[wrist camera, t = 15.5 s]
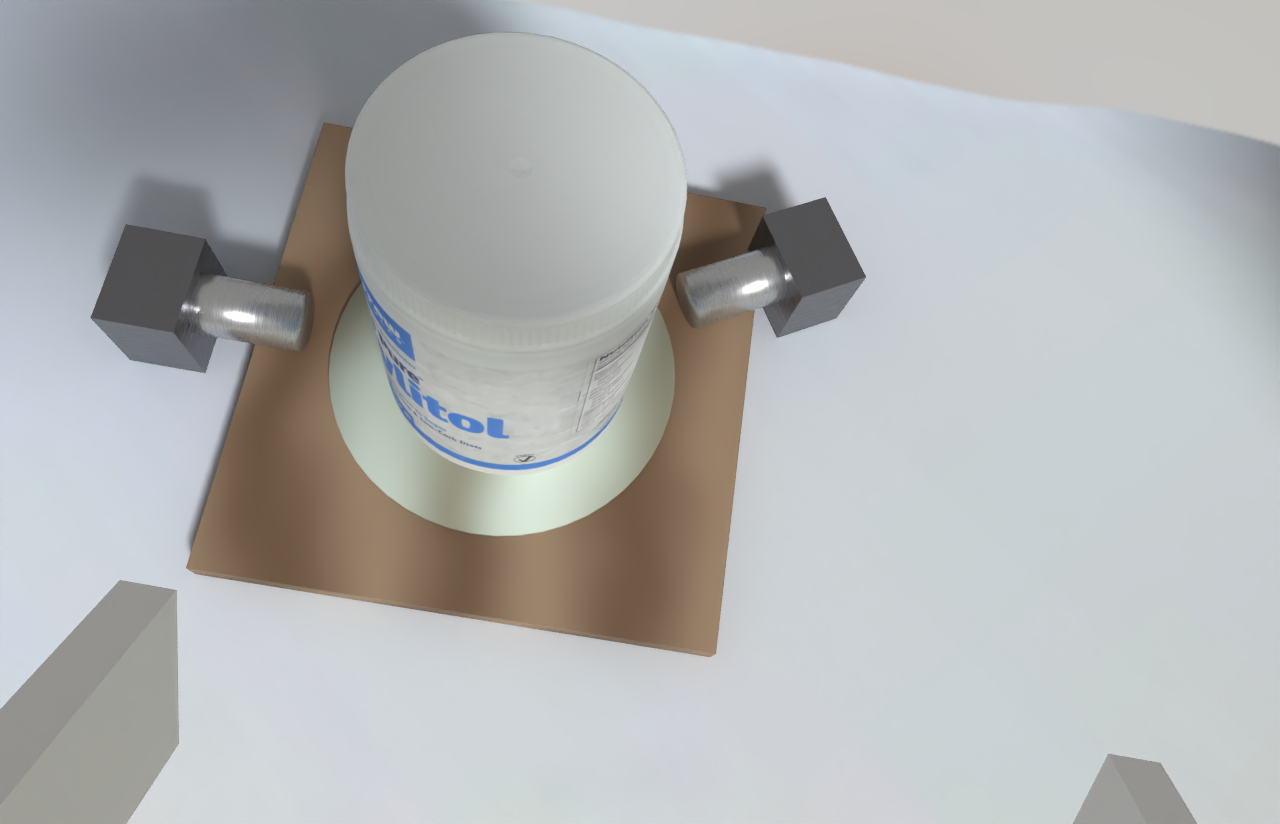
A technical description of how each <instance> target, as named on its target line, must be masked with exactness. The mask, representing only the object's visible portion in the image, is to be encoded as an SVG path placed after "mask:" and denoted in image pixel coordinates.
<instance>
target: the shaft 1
mask: <svg viewBox="0 0 1280 824" xmlns="http://www.w3.org/2000/svg"><path fill="white" fill-rule="evenodd" d="M314 311H315V305H314V298H313V295H312V293H311V292H307V291H302V290H296V289H291V288H285V287H280V286H274V285H269V284H263V283H258V282H252V281H247V280H241V279H236V278H230V277H227V275H226V273H225V272H224V270H223V268H222V266H221V265H220V263H219V261H218V260H217V258H216V256H215V254H214V253H213V251H212V249H211V248H210V246H209V244H208V243H207V241H206V239H202V238H197V237H191V236H186V235H180V234H175V233H170V232H164V231H159V230H153V229H148V228H142V227H137V226H131V225H126V226H125V229H124V231H123V234H122V236H121V239H120V242H119V244H118V247H117V250H116V252H115V255H114V258H113V260H112V263H111V265H110V268H109V271H108V273H107V276H106V279H105V281H104V284H103V287H102V289H101V292H100V294H99V297H98V300H97V302H96V305H95V308H94V310H93V313H92V316H91V319H92V320H93V321H94V322H95V323H96V324H97V325H98V326H99V327H100V328H101V329H102V330H103V332H104V333H105V334H106V335H107V336H108V337H109V338H110V339H111V340H112V341H113V342H114V343H115V344H116V345H117V346H118V347H119V348H120V349H121V351H122V352H123V353H124V354H125V355H126V356H127V357H128V358H129V359H130V360H134V361H140V362H145V363H151V364H157V365H163V366H168V367H174V368H180V369H185V370H191V371H197V372H203V373H205V372H206V369H207V366H208V363H209V360H210V356H211V353H212V350H213V347H214V344H215V341H216V338H217V337H218V338H224V339H230V340H235V341H241V342H246V343H252V344H258V345H263V346H269V347H275V348H280V349H286V350H292V351H297V352H302V351H303V350H304V349H305V347H306V345H307V343H308V341H309V338H310V335H311V332H312V327H313V321H314Z"/></svg>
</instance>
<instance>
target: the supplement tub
mask: <svg viewBox="0 0 1280 824" xmlns="http://www.w3.org/2000/svg"><path fill="white" fill-rule="evenodd" d="M345 186H346V193H347V219H348V227H349V233H350V238H351V242H352V246H353V251H354V255H355V259H356V263H357V267H358V270H359V274H360V278H361V281H362V285H363V289H364V292H365V296H366V300H367V303H368V307H369V311H370V314H371V318H372V322H373V326H374V330H375V333H376V337H377V340H378V344H379V347H380V351H381V354H382V358H383V362H384V366H385V370H386V373H387V377H388V381H389V384H390V387H391V390H392V393H393V396H394V399H395V401H396V404H397V406H398V408H399V410H400V412H401V414H402V416H403V418H404V420H405V421H406V422H407V424H408V425H409V426H410V428H411V429H412V430H413V432H414V433H415V434H416V435H417V436H418V437H419V438H420V439H421V440H422V441H423V442H424V443H425V444H426V445H427V446H428V447H430V448H431V449H432V450H433V451H435V452H436V453H438V454H439V455H441V456H442V457H444V458H446V459H448V460H449V461H451V462H454V463H456V464H458V465H461V466H463V467H466V468H469V469H472V470H476V471H480V472H484V473H490V474H498V475H527V474H534V473H539V472H543V471H546V470H550V469H553V468H555V467H558V466H560V465H562V464H564V463H567V462H569V461H571V460H572V459H574V458H576V457H577V456H579V455H580V454H582V453H583V452H584V451H586V450H587V449H588V448H589V447H591V446H592V445H593V444H594V443H595V442H596V441H597V440H598V439H599V438H600V437H601V436H602V435H603V434H604V433H605V431H606V430H607V429H608V427H609V426H610V424H611V422H612V421H613V419H614V417H615V416H616V414H617V412H618V410H619V407H620V405H621V403H622V400H623V398H624V395H625V392H626V390H627V387H628V385H629V382H630V379H631V376H632V374H633V371H634V369H635V366H636V363H637V360H638V358H639V355H640V352H641V350H642V347H643V344H644V341H645V339H646V336H647V334H648V331H649V328H650V326H651V323H652V320H653V318H654V315H655V312H656V309H657V307H658V304H659V301H660V299H661V296H662V293H663V291H664V288H665V285H666V283H667V280H668V277H669V274H670V271H671V268H672V265H673V262H674V260H675V257H676V254H677V251H678V248H679V245H680V240H681V236H682V231H683V221H684V213H685V207H686V200H687V172H686V166H685V161H684V155H683V152H682V149H681V146H680V143H679V140H678V138H677V135H676V133H675V130H674V128H673V126H672V124H671V123H670V121H669V119H668V117H667V116H666V114H665V112H664V111H663V110H662V108H661V107H660V105H659V104H658V103H657V101H656V100H655V99H654V98H653V97H652V95H651V94H650V93H649V92H648V91H647V90H646V89H645V88H644V87H643V86H642V85H641V84H640V83H639V82H638V81H637V80H636V79H635V78H634V77H632V76H631V75H630V74H629V73H627V72H626V71H625V70H624V69H622V68H621V67H619V66H618V65H616V64H615V63H613V62H612V61H610V60H608V59H607V58H605V57H603V56H602V55H600V54H598V53H595V52H593V51H591V50H589V49H587V48H584V47H582V46H579V45H577V44H574V43H572V42H568V41H565V40H561V39H558V38H554V37H550V36H544V35H539V34H531V33H521V32H492V33H484V34H476V35H470V36H466V37H462V38H458V39H454V40H451V41H448V42H445V43H442V44H439V45H437V46H434V47H432V48H430V49H428V50H426V51H423V52H421V53H420V54H418V55H416V56H415V57H413V58H412V59H410V60H408V61H407V62H405V63H404V64H403V65H401V66H400V67H399V68H397V69H396V70H395V71H393V72H392V73H391V74H390V75H389V76H388V77H387V78H386V79H385V80H384V81H383V82H382V83H381V84H380V85H379V86H378V87H377V88H376V90H375V91H374V92H373V93H372V95H371V96H370V97H369V99H368V100H367V102H366V103H365V105H364V106H363V108H362V110H361V112H360V113H359V115H358V117H357V119H356V122H355V124H354V127H353V130H352V133H351V136H350V140H349V143H348V149H347V155H346V163H345Z"/></svg>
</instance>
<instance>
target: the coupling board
mask: <svg viewBox="0 0 1280 824" xmlns="http://www.w3.org/2000/svg"><path fill="white" fill-rule="evenodd" d="M352 130H353V128H349V127H344V126H339V125H334V124H328V123H324V124H323V127H322V130H321V134H320V137H319V140H318V143H317V146H316V150H315V153H314V156H313V159H312V163H311V166H310V169H309V172H308V176H307V179H306V182H305V185H304V189H303V192H302V195H301V198H300V201H299V205H298V208H297V211H296V214H295V218H294V221H293V224H292V227H291V231H290V234H289V237H288V240H287V243H286V247H285V250H284V253H283V256H282V260H281V263H280V266H279V269H278V273H277V276H276V279H275V282H274V286H280V287H285V288H291V289H296V290H302V291H307V292H311V293H312V295H313V298H314V305H315V311H314V321H313V327H312V332H311V335H310V338H309V341H308V343H307V345H306V347H305V349H304V350H303V351H302V352H297V351H292V350H286V349H280V348H275V347H269V346H263V345H258V344H255V347H254V350H253V353H252V357H251V360H250V363H249V366H248V370H247V373H246V376H245V379H244V382H243V386H242V389H241V392H240V395H239V399H238V402H237V405H236V408H235V412H234V415H233V418H232V421H231V424H230V428H229V431H228V434H227V437H226V441H225V444H224V447H223V450H222V454H221V457H220V460H219V463H218V466H217V470H216V473H215V476H214V479H213V483H212V486H211V489H210V492H209V496H208V499H207V502H206V505H205V509H204V512H203V515H202V518H201V521H200V525H199V528H198V531H197V534H196V538H195V541H194V544H193V547H192V551H191V554H190V557H189V560H188V563H187V567H186V568H187V569H188V570H190V571H192V572H193V573H195V574H199V575H205V576H212V577H218V578H224V579H230V580H236V581H243V582H249V583H255V584H261V585H267V586H274V587H280V588H286V589H292V590H298V591H305V592H311V593H317V594H323V595H329V596H336V597H342V598H348V599H354V600H360V601H367V602H373V603H379V604H385V605H391V606H398V607H404V608H410V609H416V610H422V611H429V612H435V613H441V614H447V615H453V616H460V617H466V618H472V619H478V620H484V621H491V622H497V623H503V624H509V625H515V626H522V627H528V628H534V629H540V630H546V631H552V632H559V633H565V634H571V635H577V636H583V637H590V638H596V639H602V640H608V641H614V642H621V643H627V644H633V645H639V646H645V647H652V648H658V649H664V650H670V651H676V652H683V653H689V654H695V655H701V656H707V657H711V656H713V655H714V654H716V648H717V639H718V630H719V621H720V612H721V604H722V595H723V586H724V577H725V568H726V559H727V550H728V541H729V532H730V523H731V514H732V505H733V496H734V487H735V479H736V470H737V461H738V452H739V443H740V434H741V425H742V416H743V407H744V398H745V389H746V380H747V371H748V362H749V354H750V345H751V336H752V327H753V318H754V310H752V311H749V312H745V313H742V314H739V315H736V316H733V317H730V318H727V319H724V320H721V321H717V322H714V323H711V324H708V325H705V326H702V327H699V328H693V327H692V326H690V324H689V323H688V322H687V320H686V318H685V316H684V314H683V312H682V310H681V307H680V304H679V300H678V296H677V290H676V278H677V275H678V274H679V273H682V272H685V271H689V270H692V269H695V268H699V267H702V266H705V265H708V264H712V263H715V262H718V261H721V260H725V259H728V258H731V257H734V256H738V255H741V254H744V253H748V252H749V250H748V247H749V245H750V243H751V240H752V238H753V236H754V234H755V232H756V229H757V227H758V225H759V223H760V221H761V219H762V216H764V215H765V211H766V208H764V207H758V206H753V205H748V204H743V203H738V202H733V201H727V200H722V199H717V198H712V197H707V196H701V195H696V194H691V193H687V200H686V207H685V213H684V221H683V231H682V236H681V240H680V245H679V248H678V251H677V254H676V257H675V260H674V262H673V265H672V268H671V271H670V274H669V277H668V280H667V283H666V285H665V288H664V291H663V293H662V296H661V299H660V301H659V304H658V307H657V309H656V312H655V315H654V318H653V320H652V323H651V326H650V328H649V331H648V334H647V336H646V339H645V341H644V344H643V347H642V350H641V352H640V355H639V358H638V360H637V363H636V366H635V369H634V371H633V374H632V376H631V379H630V382H629V385H628V387H627V390H626V392H625V395H624V398H623V400H622V403H621V405H620V407H619V410H618V412H617V414H616V416H615V417H614V419H613V421H612V422H611V424H610V426H609V427H608V429H607V430H606V431H605V433H604V434H603V435H602V436H601V437H600V438H599V439H598V440H597V441H596V442H595V443H594V444H593V445H592V446H591V447H589V448H588V449H587V450H586V451H584V452H583V453H582V454H580V455H579V456H577V457H576V458H574V459H572V460H571V461H569V462H567V463H564V464H562V465H560V466H558V467H555V468H553V469H550V470H546V471H543V472H539V473H534V474H527V475H498V474H490V473H484V472H480V471H476V470H472V469H469V468H466V467H463V466H461V465H458V464H456V463H454V462H451V461H449V460H448V459H446V458H444V457H442V456H441V455H439V454H438V453H436V452H435V451H433V450H432V449H431V448H430V447H428V446H427V445H426V444H425V443H424V442H423V441H422V440H421V439H420V438H419V437H418V436H417V435H416V434H415V433H414V432H413V430H412V429H411V428H410V426H409V425H408V424H407V422H406V421H405V420H404V418H403V416H402V414H401V412H400V410H399V408H398V406H397V404H396V401H395V399H394V396H393V393H392V390H391V387H390V384H389V381H388V377H387V373H386V370H385V366H384V362H383V358H382V354H381V351H380V347H379V344H378V340H377V337H376V333H375V330H374V326H373V322H372V318H371V314H370V311H369V307H368V303H367V300H366V296H365V292H364V289H363V285H362V281H361V278H360V274H359V270H358V267H357V263H356V259H355V255H354V251H353V246H352V242H351V238H350V233H349V227H348V219H347V193H346V186H345V163H346V155H347V149H348V143H349V140H350V136H351V133H352Z"/></svg>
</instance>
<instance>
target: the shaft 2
mask: <svg viewBox="0 0 1280 824" xmlns="http://www.w3.org/2000/svg"><path fill="white" fill-rule="evenodd" d="M748 250H749V252H748V253H744V254H741V255H738V256H734V257H731V258H728V259H725V260H721V261H718V262H715V263H712V264H708V265H705V266H702V267H699V268H695V269H692V270H689V271H685V272H682V273H679V274H678V275H677V278H676V290H677V296H678V300H679V304H680V307H681V310H682V312H683V314H684V316H685V318H686V320H687V322H688V323H689V324H690V326H692V327H693V328H699V327H702V326H705V325H708V324H711V323H714V322H717V321H721V320H724V319H727V318H730V317H733V316H736V315H739V314H742V313H745V312H749V311H752V310H755V309H758V308H761V307H763V308H764V310H765V312H766V314H767V316H768V319H769V321H770V323H771V325H772V327H773V329H774V331H775V333H776V336H777V338H778V337H781V336H784V335H787V334H790V333H793V332H796V331H799V330H802V329H805V328H808V327H811V326H814V325H817V324H820V323H823V322H826V321H829V320H832V319H835V318H837V316H838V315H839V314H840V312H841V311H842V310H843V308H844V307H845V305H846V304H847V303H848V301H849V300H850V299H851V297H852V296H853V294H854V293H855V292H856V290H857V289H858V288H859V286H860V285H861V283H862V282H863V281H864V279H865V278H866V276H865V274H864V272H863V270H862V268H861V266H860V264H859V262H858V260H857V258H856V256H855V254H854V252H853V250H852V248H851V246H850V244H849V242H848V241H847V239H846V237H845V235H844V233H843V231H842V229H841V227H840V225H839V223H838V221H837V219H836V217H835V215H834V213H833V211H832V209H831V207H830V205H829V203H828V201H827V199H826V197H824V198H821V199H818V200H814V201H811V202H808V203H804V204H801V205H798V206H794V207H791V208H788V209H784V210H781V211H777V212H774V213H771V214H767V215H764V216H762V219H761V221H760V223H759V225H758V227H757V229H756V232H755V234H754V236H753V238H752V240H751V243H750V245H749V247H748Z"/></svg>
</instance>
